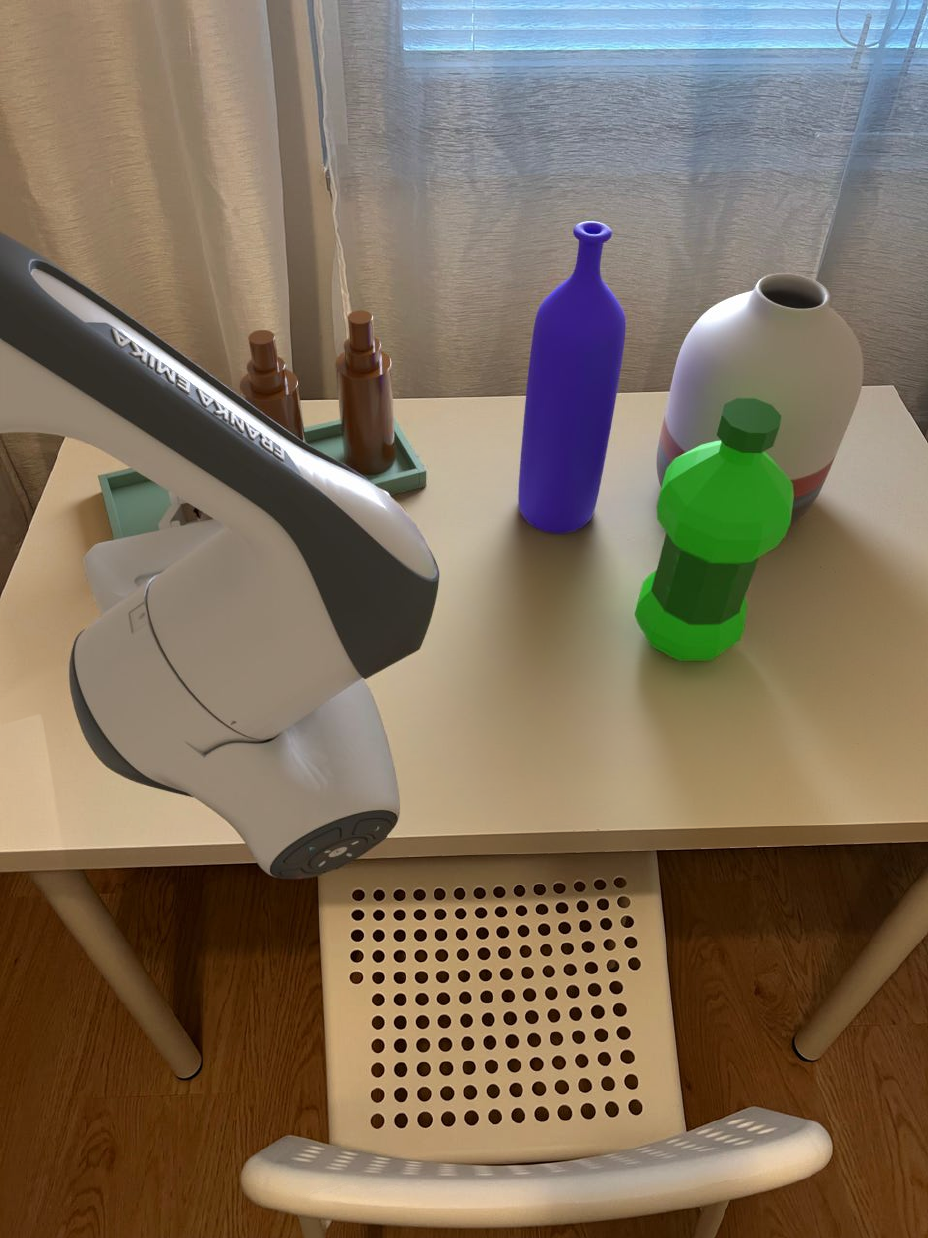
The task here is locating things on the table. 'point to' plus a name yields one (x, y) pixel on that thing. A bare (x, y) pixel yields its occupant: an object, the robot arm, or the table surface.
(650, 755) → the table surface
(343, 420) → the row bottle
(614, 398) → the bottle
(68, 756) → the table surface
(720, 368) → the vase
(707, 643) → the plastic bottle
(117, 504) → the tray
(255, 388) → the row bottle
